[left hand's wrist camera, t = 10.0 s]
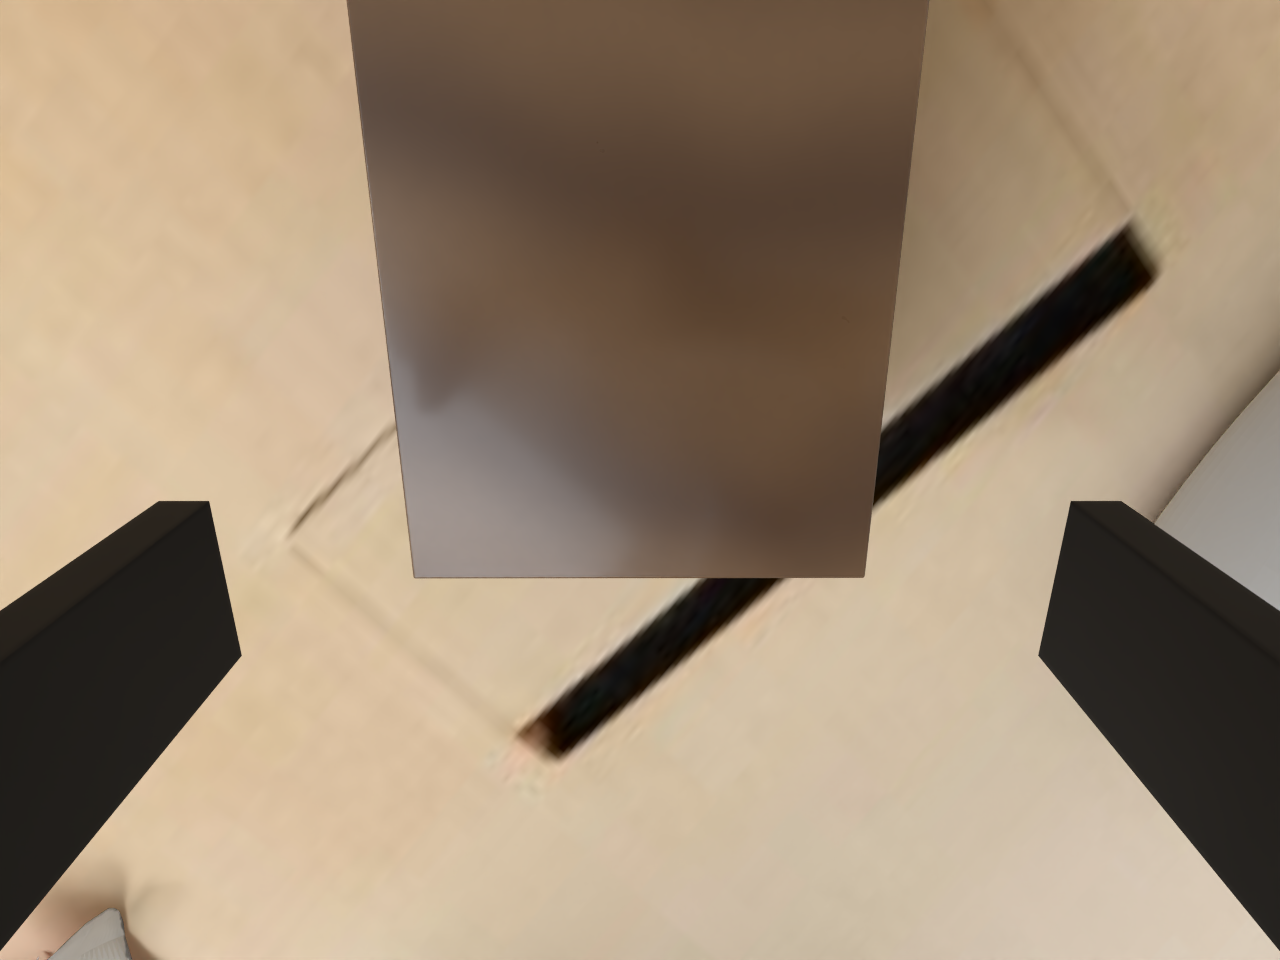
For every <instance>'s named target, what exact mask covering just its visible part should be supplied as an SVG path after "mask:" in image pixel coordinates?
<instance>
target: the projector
mask: <svg viewBox="0 0 1280 960" xmlns="http://www.w3.org/2000/svg"><path fill="white" fill-rule="evenodd" d="M1154 524H1155V525H1156V526H1158V527H1159V528H1161V529H1162V530H1164V531H1165V532H1167V533H1168V534H1169V535H1171V536H1172V537H1174V538H1175V539H1177V540H1178V541H1180V542H1181V543H1182V544H1184V545H1185V546H1187V547H1188V548H1190V549H1191V550H1193V551H1194V552H1195V553H1197V554H1198V555H1200V556H1201V557H1203V558H1204V559H1206V560H1207V561H1208V562H1210V563H1211V564H1213V565H1214V566H1216V567H1217V568H1219V569H1220V570H1221V571H1223V572H1224V573H1226V574H1227V575H1229V576H1230V577H1232V578H1233V579H1234V580H1236V581H1237V582H1239V583H1240V584H1242V585H1243V586H1245V587H1246V588H1247V589H1249V590H1250V591H1252V592H1253V593H1255V594H1256V595H1258V596H1259V597H1260V598H1262V599H1263V600H1265V601H1266V602H1268V603H1269V604H1271V605H1272V606H1273V607H1275V608H1276V609H1278V610H1279V611H1280V370H1279V371H1278V372H1277V373H1276V375H1275V376H1274V377H1273V378H1272V379H1271V380H1270V381H1269V382H1268V383H1267V385H1266V386H1265V387H1264V388H1263V389H1262V390H1261V391H1260V392H1259V393H1258V394H1257V396H1256V397H1255V398H1254V399H1253V400H1252V401H1251V402H1250V403H1249V404H1248V406H1247V407H1246V408H1245V409H1244V410H1243V411H1242V412H1241V414H1240V415H1239V416H1238V417H1237V418H1236V420H1235V421H1234V422H1233V423H1232V424H1231V425H1230V427H1229V428H1228V429H1227V430H1226V431H1225V433H1224V434H1223V435H1222V436H1221V437H1220V438H1219V440H1218V441H1217V442H1216V443H1215V444H1214V446H1213V447H1212V448H1211V449H1210V451H1209V452H1208V453H1207V454H1206V456H1205V457H1204V458H1203V459H1202V461H1201V462H1200V463H1199V464H1198V466H1197V467H1196V468H1195V469H1194V471H1193V472H1192V473H1191V475H1190V476H1189V477H1188V478H1187V480H1186V481H1185V482H1184V483H1183V485H1182V486H1181V487H1180V489H1179V490H1178V492H1177V493H1176V494H1175V496H1174V497H1173V498H1172V500H1171V501H1170V502H1169V504H1168V505H1167V506H1166V508H1165V509H1164V510H1163V512H1162V513H1161V514H1160V516H1159V517H1158V519H1157V520H1156V522H1155V523H1154Z"/></svg>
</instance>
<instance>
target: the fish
mask: <svg viewBox="0 0 1280 960" xmlns="http://www.w3.org/2000/svg"><path fill="white" fill-rule="evenodd" d="M38 959H39V957H38V958H37V960H38ZM47 960H132V958H131V954H130V951H129V948H128V944H127V941H126V938H125V932H124V924H123V920H122V917H121V914H120V912H119V910H117V909H115V908H108V909H107V910H105V911H104V912H102V913H101V914H99V915H98V916H96V917H95V918H93V919H92V920H90V921H89V922H87V923H86V924H85V925H84V926H83V927H81V928H80V929H79V930H78V931H77V932H76V933H75V934H74V935H73V936H72V937H71V938H70V939H69V940H68V941H67V942H66V943H64V944H63V945H62V946H61V947H60V948H59V949H58V950H57V951H56V952H55V953H54V954H53V955H52V956H51V957H50V958H49V959H47Z"/></svg>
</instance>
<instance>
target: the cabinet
mask: <svg viewBox="0 0 1280 960" xmlns="http://www.w3.org/2000/svg"><path fill="white" fill-rule="evenodd" d="M928 6H929V0H347V7H348V16H349V24H350V33H351V42H352V50H353V59H354V67H355V76H356V85H357V93H358V102H359V111H360V119H361V128H362V136H363V145H364V154H365V162H366V171H367V179H368V188H369V197H370V205H371V214H372V222H373V231H374V240H375V248H376V257H377V266H378V274H379V283H380V291H381V300H382V309H383V317H384V326H385V334H386V343H387V352H388V360H389V369H390V377H391V386H392V395H393V403H394V412H395V421H396V429H397V438H398V446H399V455H400V464H401V472H402V481H403V489H404V498H405V507H406V515H407V524H408V532H409V541H410V550H411V558H412V567H413V576H414V578H863V577H864V576H865V568H866V559H867V550H868V541H869V532H870V523H871V514H872V506H873V497H874V488H875V479H876V470H877V461H878V452H879V443H880V434H881V425H882V416H883V407H884V399H885V390H886V381H887V372H888V363H889V354H890V345H891V336H892V327H893V318H894V309H895V300H896V292H897V283H898V274H899V265H900V256H901V247H902V238H903V229H904V220H905V211H906V202H907V193H908V185H909V176H910V167H911V158H912V149H913V140H914V131H915V122H916V113H917V104H918V95H919V86H920V78H921V69H922V60H923V51H924V42H925V33H926V24H927V15H928Z"/></svg>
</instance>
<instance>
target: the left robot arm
mask: <svg viewBox="0 0 1280 960" xmlns="http://www.w3.org/2000/svg"><path fill="white" fill-rule="evenodd" d="M241 656H242V655H241V650H240V646H239V641H238V636H237V631H236V627H235V622H234V617H233V612H232V608H231V603H230V598H229V593H228V589H227V584H226V579H225V574H224V570H223V565H222V560H221V556H220V551H219V546H218V541H217V537H216V532H215V527H214V522H213V518H212V513H211V508H210V503H209V501H158V502H157V503H155V504H154V505H153V506H151V507H150V508H148V509H147V510H145V511H144V512H142V513H141V514H139V515H138V516H137V517H135V518H134V519H132V520H131V521H129V522H128V523H126V524H125V525H124V526H122V527H121V528H119V529H118V530H116V531H115V532H113V533H112V534H111V535H109V536H108V537H106V538H105V539H103V540H102V541H100V542H99V543H98V544H96V545H95V546H93V547H92V548H90V549H89V550H87V551H86V552H85V553H83V554H82V555H80V556H79V557H77V558H76V559H74V560H73V561H72V562H70V563H69V564H67V565H66V566H64V567H63V568H61V569H60V570H59V571H57V572H56V573H54V574H53V575H51V576H50V577H48V578H47V579H46V580H44V581H43V582H41V583H40V584H38V585H37V586H35V587H34V588H33V589H31V590H30V591H28V592H27V593H25V594H24V595H22V596H21V597H20V598H18V599H17V600H15V601H14V602H12V603H11V604H9V605H8V606H7V607H5V608H4V609H2V610H1V611H0V951H1V949H2V948H3V947H4V946H5V945H6V943H7V942H8V941H9V940H10V938H11V937H12V936H13V935H14V933H15V932H16V931H17V930H18V929H19V927H20V926H21V925H22V924H23V922H24V921H25V920H26V919H27V918H28V916H29V915H30V914H31V913H32V911H33V910H34V909H35V908H36V907H37V905H38V904H39V903H40V902H41V900H42V899H43V898H44V897H45V896H46V894H47V893H48V892H49V891H50V889H51V888H52V887H53V886H54V885H55V883H56V882H57V881H58V880H59V878H60V877H61V876H62V875H63V874H64V872H65V871H66V870H67V869H68V867H69V866H70V865H71V864H72V863H73V861H74V860H75V859H76V858H77V856H78V855H79V854H80V853H81V852H82V850H83V849H84V848H85V847H86V845H87V844H88V843H89V842H90V840H91V839H92V838H93V837H94V836H95V834H96V833H97V832H98V831H99V829H100V828H101V827H102V826H103V825H104V823H105V822H106V821H107V820H108V818H109V817H110V816H111V815H112V814H113V812H114V811H115V810H116V809H117V807H118V806H119V805H120V804H121V803H122V801H123V800H124V799H125V798H126V796H127V795H128V794H129V793H130V792H131V790H132V789H133V788H134V787H135V785H136V784H137V783H138V782H139V781H140V779H141V778H142V777H143V776H144V774H145V773H146V772H147V771H148V770H149V768H150V767H151V766H152V765H153V763H154V762H155V761H156V760H157V759H158V757H159V756H160V755H161V754H162V752H163V751H164V750H165V749H166V747H167V746H168V745H169V744H170V743H171V741H172V740H173V739H174V738H175V736H176V735H177V734H178V733H179V732H180V730H181V729H182V728H183V727H184V725H185V724H186V723H187V722H188V721H189V719H190V718H191V717H192V716H193V714H194V713H195V712H196V711H197V710H198V708H199V707H200V706H201V705H202V703H203V702H204V701H205V700H206V699H207V697H208V696H209V695H210V694H211V692H212V691H213V690H214V689H215V688H216V686H217V685H218V684H219V683H220V681H221V680H222V679H223V678H224V677H225V675H226V674H227V673H228V672H229V670H230V669H231V668H232V667H233V666H234V664H235V663H236V662H237V661H238V659H239V658H240V657H241ZM1038 656H1039V657H1040V658H1041V659H1042V661H1043V662H1044V663H1045V664H1046V666H1047V667H1048V668H1049V669H1050V670H1051V672H1052V673H1053V674H1054V675H1055V677H1056V678H1057V679H1058V680H1059V681H1060V683H1061V684H1062V685H1063V686H1064V688H1065V689H1066V690H1067V691H1068V692H1069V694H1070V695H1071V696H1072V697H1073V699H1074V700H1075V701H1076V702H1077V703H1078V705H1079V706H1080V707H1081V708H1082V710H1083V711H1084V712H1085V713H1086V714H1087V716H1088V717H1089V718H1090V719H1091V721H1092V722H1093V723H1094V724H1095V725H1096V727H1097V728H1098V729H1099V730H1100V732H1101V733H1102V734H1103V735H1104V736H1105V738H1106V739H1107V740H1108V741H1109V743H1110V744H1111V745H1112V746H1113V747H1114V749H1115V750H1116V751H1117V752H1118V754H1119V755H1120V756H1121V757H1122V759H1123V760H1124V761H1125V762H1126V763H1127V765H1128V766H1129V767H1130V768H1131V770H1132V771H1133V772H1134V773H1135V774H1136V776H1137V777H1138V778H1139V779H1140V781H1141V782H1142V783H1143V784H1144V785H1145V787H1146V788H1147V789H1148V790H1149V792H1150V793H1151V794H1152V795H1153V796H1154V798H1155V799H1156V800H1157V801H1158V803H1159V804H1160V805H1161V806H1162V807H1163V809H1164V810H1165V811H1166V812H1167V814H1168V815H1169V816H1170V817H1171V818H1172V820H1173V821H1174V822H1175V823H1176V825H1177V826H1178V827H1179V828H1180V829H1181V831H1182V832H1183V833H1184V834H1185V836H1186V837H1187V838H1188V839H1189V840H1190V842H1191V843H1192V844H1193V845H1194V847H1195V848H1196V849H1197V850H1198V852H1199V853H1200V854H1201V855H1202V856H1203V858H1204V859H1205V860H1206V861H1207V863H1208V864H1209V865H1210V866H1211V867H1212V869H1213V870H1214V871H1215V872H1216V874H1217V875H1218V876H1219V877H1220V878H1221V880H1222V881H1223V882H1224V883H1225V885H1226V886H1227V887H1228V888H1229V889H1230V891H1231V892H1232V893H1233V894H1234V896H1235V897H1236V898H1237V899H1238V900H1239V902H1240V903H1241V904H1242V905H1243V907H1244V908H1245V909H1246V910H1247V911H1248V913H1249V914H1250V915H1251V916H1252V918H1253V919H1254V920H1255V921H1256V922H1257V924H1258V925H1259V926H1260V927H1261V929H1262V930H1263V931H1264V932H1265V933H1266V935H1267V936H1268V937H1269V938H1270V940H1271V941H1272V942H1273V943H1274V945H1275V946H1276V947H1277V948H1278V949H1279V951H1280V611H1279V610H1278V609H1276V608H1275V607H1273V606H1272V605H1271V604H1269V603H1268V602H1266V601H1265V600H1263V599H1262V598H1260V597H1259V596H1258V595H1256V594H1255V593H1253V592H1252V591H1250V590H1249V589H1247V588H1246V587H1245V586H1243V585H1242V584H1240V583H1239V582H1237V581H1236V580H1234V579H1233V578H1232V577H1230V576H1229V575H1227V574H1226V573H1224V572H1223V571H1221V570H1220V569H1219V568H1217V567H1216V566H1214V565H1213V564H1211V563H1210V562H1208V561H1207V560H1206V559H1204V558H1203V557H1201V556H1200V555H1198V554H1197V553H1195V552H1194V551H1193V550H1191V549H1190V548H1188V547H1187V546H1185V545H1184V544H1182V543H1181V542H1180V541H1178V540H1177V539H1175V538H1174V537H1172V536H1171V535H1169V534H1168V533H1167V532H1165V531H1164V530H1162V529H1161V528H1159V527H1158V526H1156V525H1155V524H1154V523H1152V522H1151V521H1149V520H1148V519H1146V518H1145V517H1143V516H1142V515H1141V514H1139V513H1138V512H1136V511H1135V510H1133V509H1132V508H1130V507H1129V506H1127V505H1126V504H1125V503H1123V502H1122V501H1071V503H1070V508H1069V513H1068V518H1067V522H1066V527H1065V532H1064V537H1063V541H1062V546H1061V551H1060V556H1059V560H1058V565H1057V570H1056V574H1055V579H1054V584H1053V589H1052V593H1051V598H1050V603H1049V608H1048V612H1047V617H1046V622H1045V627H1044V631H1043V636H1042V641H1041V646H1040V650H1039V655H1038Z"/></svg>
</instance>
